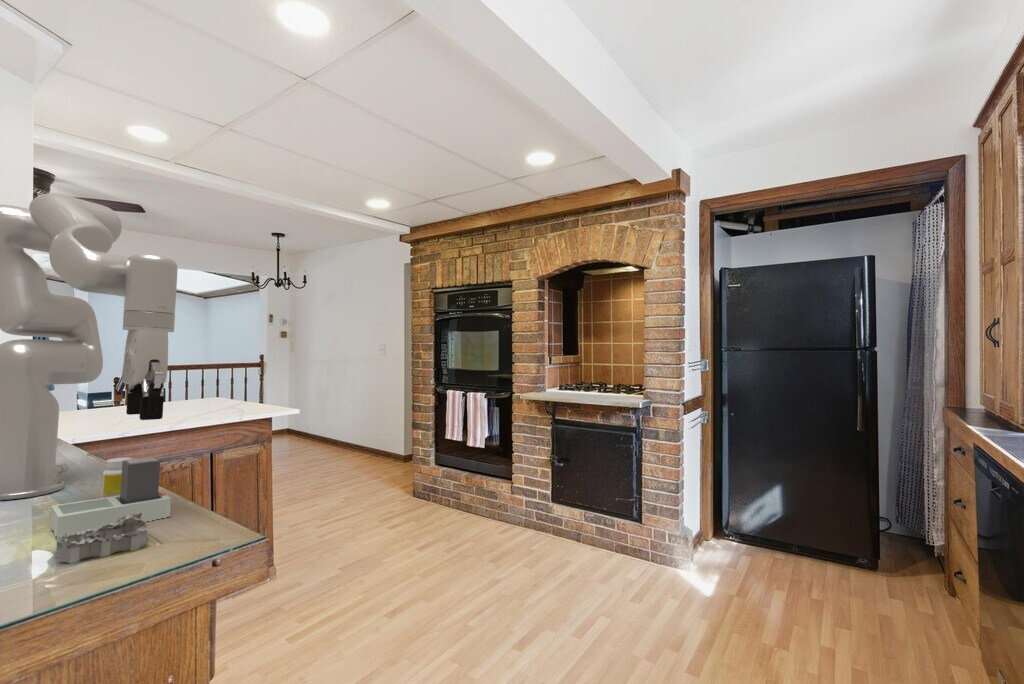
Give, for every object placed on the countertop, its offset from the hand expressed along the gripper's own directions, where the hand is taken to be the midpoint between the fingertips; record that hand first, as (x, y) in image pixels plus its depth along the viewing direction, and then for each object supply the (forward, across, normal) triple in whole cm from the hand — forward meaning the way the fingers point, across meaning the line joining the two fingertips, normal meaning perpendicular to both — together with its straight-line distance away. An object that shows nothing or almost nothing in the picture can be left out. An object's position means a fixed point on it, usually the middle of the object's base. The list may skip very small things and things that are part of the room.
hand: (143, 416), depth 87 cm
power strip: (+18, 0, -4) cm, 19 cm away
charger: (+16, 0, 0) cm, 16 cm away
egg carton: (+19, +13, -7) cm, 24 cm away
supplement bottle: (+18, -14, -1) cm, 23 cm away
